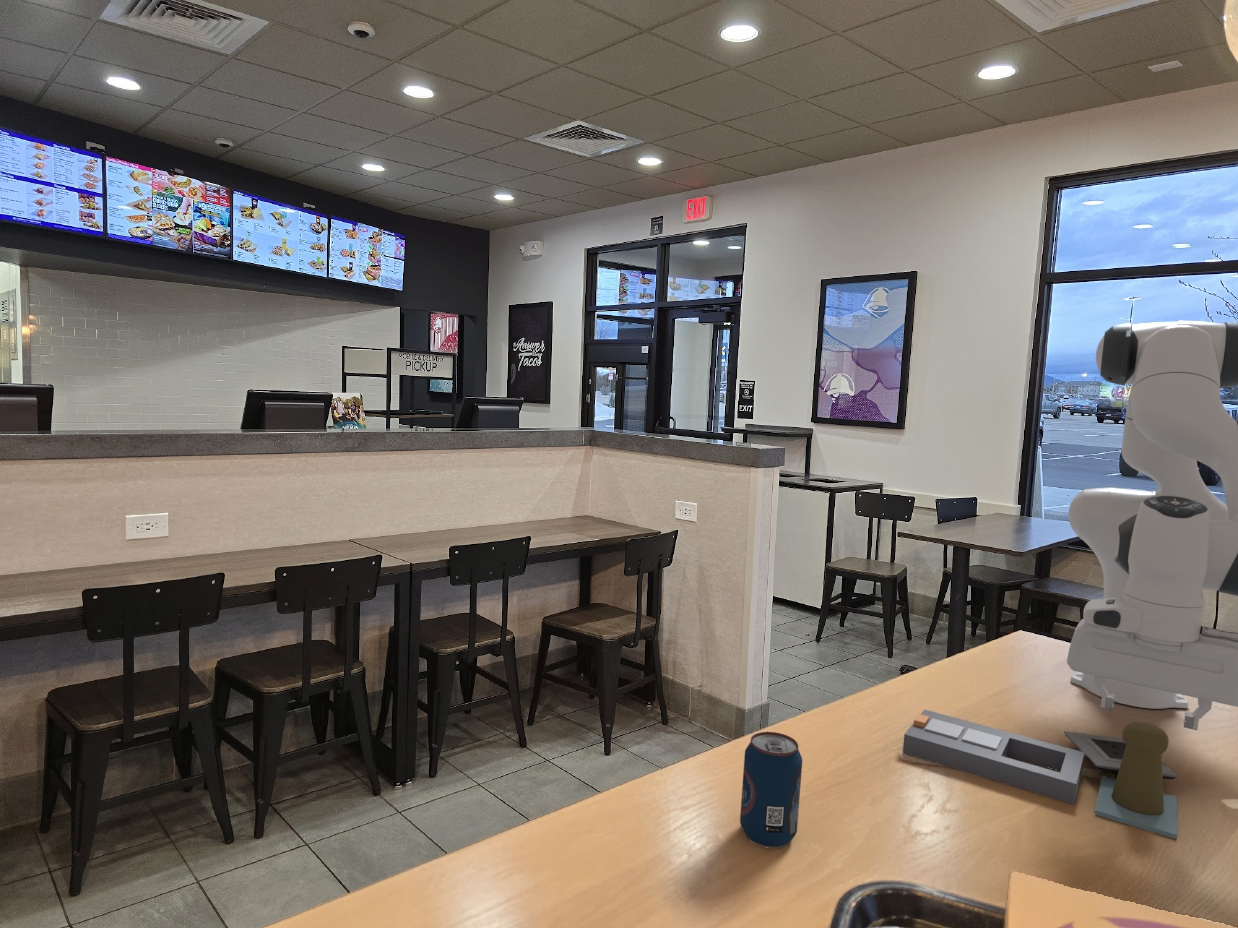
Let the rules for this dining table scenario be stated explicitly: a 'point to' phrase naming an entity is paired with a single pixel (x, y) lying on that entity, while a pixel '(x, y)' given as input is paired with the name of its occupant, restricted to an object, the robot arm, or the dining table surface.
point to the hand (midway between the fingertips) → (1147, 717)
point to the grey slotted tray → (996, 755)
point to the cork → (1141, 769)
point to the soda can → (771, 789)
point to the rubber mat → (1153, 823)
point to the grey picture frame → (1106, 752)
